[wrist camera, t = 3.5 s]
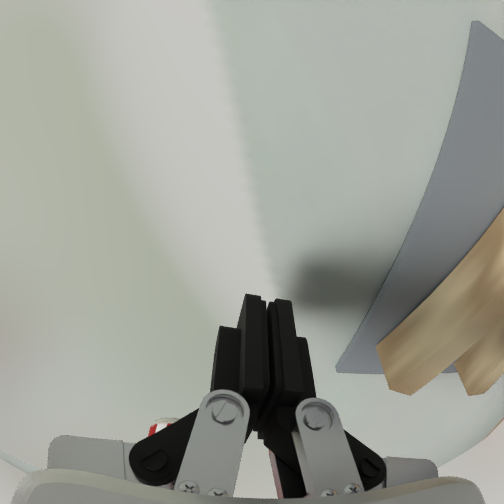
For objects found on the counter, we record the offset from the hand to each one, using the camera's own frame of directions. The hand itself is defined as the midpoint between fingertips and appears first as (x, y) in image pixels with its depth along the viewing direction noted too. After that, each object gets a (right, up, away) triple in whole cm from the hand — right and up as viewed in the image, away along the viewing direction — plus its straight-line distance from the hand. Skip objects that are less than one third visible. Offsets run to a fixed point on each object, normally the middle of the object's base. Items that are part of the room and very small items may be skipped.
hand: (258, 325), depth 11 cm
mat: (+14, +3, +2) cm, 14 cm away
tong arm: (+11, +2, +1) cm, 11 cm away
